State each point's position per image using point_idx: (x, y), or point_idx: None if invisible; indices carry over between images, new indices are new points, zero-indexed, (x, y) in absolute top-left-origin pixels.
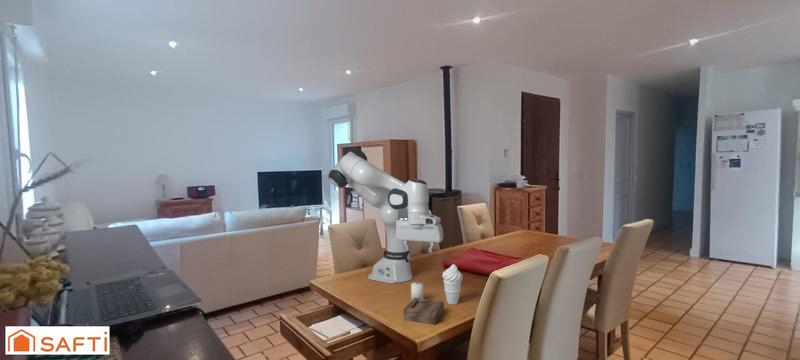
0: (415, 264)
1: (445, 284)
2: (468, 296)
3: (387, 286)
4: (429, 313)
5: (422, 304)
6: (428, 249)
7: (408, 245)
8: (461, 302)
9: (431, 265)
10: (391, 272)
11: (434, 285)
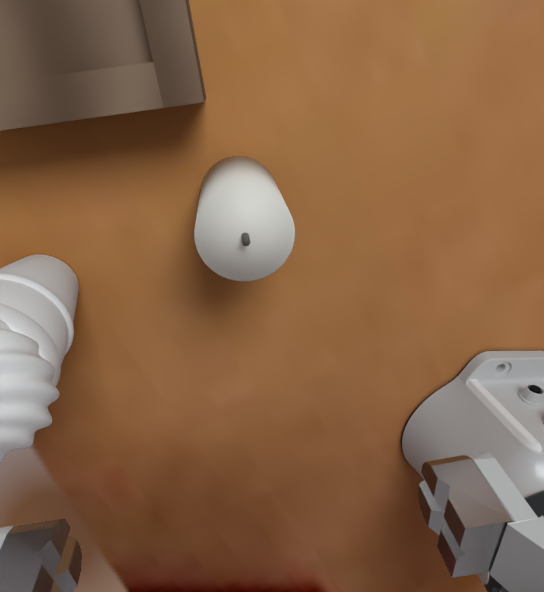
0: None
1: (13, 306)
2: None
3: (493, 313)
4: None
5: (100, 41)
6: (13, 582)
7: (512, 571)
8: None
9: (376, 581)
10: (522, 410)
11: (263, 427)
